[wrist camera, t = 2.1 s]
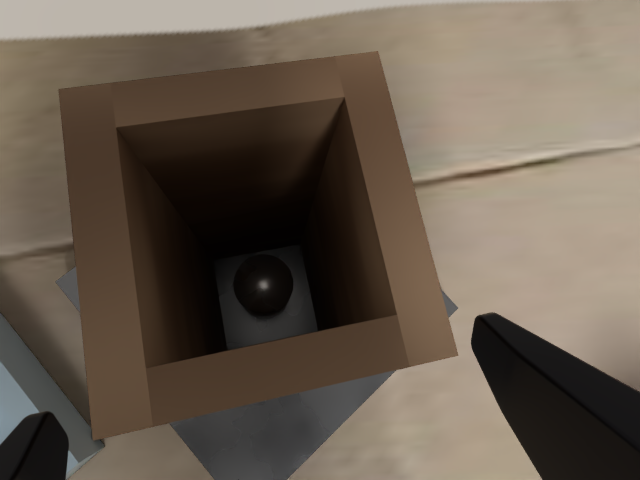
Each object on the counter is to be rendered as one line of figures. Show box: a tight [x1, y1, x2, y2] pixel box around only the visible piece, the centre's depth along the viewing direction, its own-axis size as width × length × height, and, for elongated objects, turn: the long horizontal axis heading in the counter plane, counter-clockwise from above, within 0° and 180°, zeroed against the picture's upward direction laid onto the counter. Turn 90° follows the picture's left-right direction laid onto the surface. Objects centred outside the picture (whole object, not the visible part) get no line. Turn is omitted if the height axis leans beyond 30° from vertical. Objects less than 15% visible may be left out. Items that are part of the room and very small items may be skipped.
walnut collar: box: [59, 51, 458, 441], centre depth 13 cm, size 5×5×12 cm
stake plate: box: [56, 245, 458, 480], centre depth 17 cm, size 12×12×5 cm
